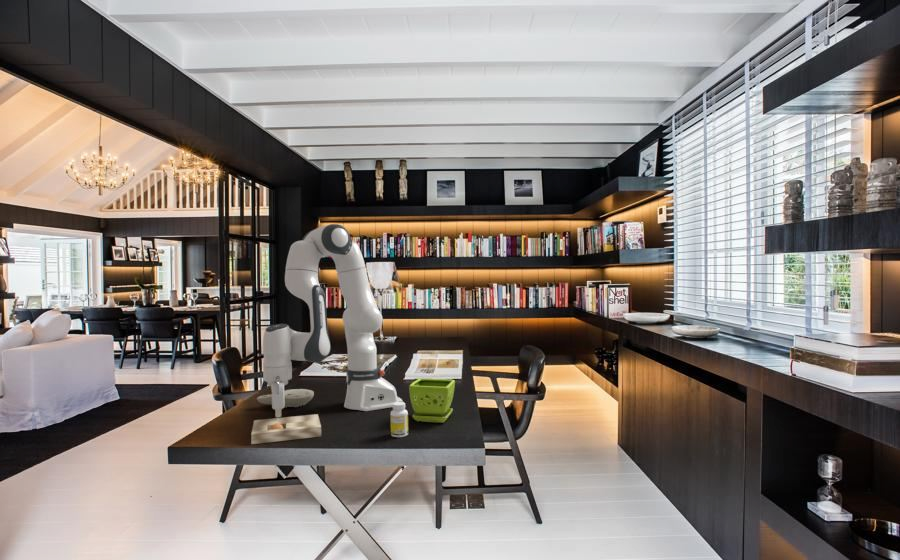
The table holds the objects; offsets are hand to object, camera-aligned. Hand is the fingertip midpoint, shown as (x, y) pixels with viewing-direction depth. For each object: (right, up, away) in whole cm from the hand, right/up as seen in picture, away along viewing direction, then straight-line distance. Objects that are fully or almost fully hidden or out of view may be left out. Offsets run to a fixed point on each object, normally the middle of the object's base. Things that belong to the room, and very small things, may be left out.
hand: (278, 416), depth 156 cm
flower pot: (+51, -4, +9) cm, 51 cm away
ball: (+3, -2, -9) cm, 9 cm away
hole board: (+5, -4, -5) cm, 8 cm away
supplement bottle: (+41, -4, -8) cm, 42 cm away
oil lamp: (-7, -4, +28) cm, 29 cm away
